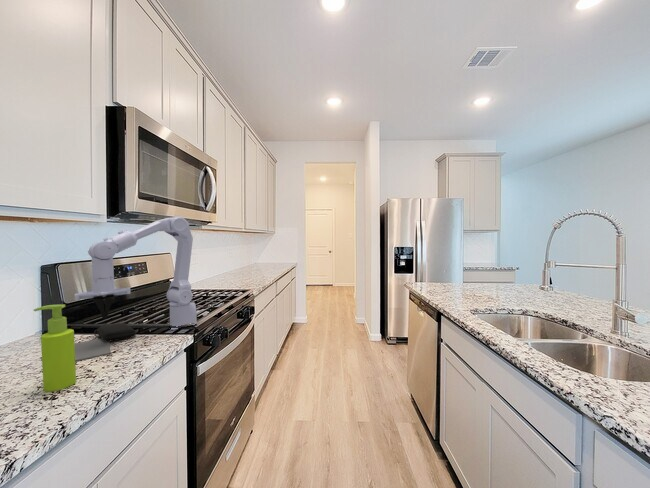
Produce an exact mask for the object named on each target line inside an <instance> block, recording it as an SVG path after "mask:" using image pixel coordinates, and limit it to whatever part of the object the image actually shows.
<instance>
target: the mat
mask: <svg viewBox="0 0 650 488" xmlns="http://www.w3.org/2000/svg"><path fill="white" fill-rule="evenodd" d="M74 345H75V363H76V362H79V361H80V362H81V361H83V360H89V359H94V358H98V357H102V356H107V355H111V354H112V350H111V341H106V340H103V339H102V338H101V337H100V338H95V339H91V340H86V341H81V342H74Z"/></svg>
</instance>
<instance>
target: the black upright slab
mask: <svg viewBox="0 0 650 488" xmlns="http://www.w3.org/2000/svg"><path fill="white" fill-rule="evenodd" d="M93 333H94V335H96V334H97V335H98V336H99V337H100V338H102V339H103V340H106V341H109V342H113V341H119V340H123V339H129V338H133V337H134V336H135V335H136V334H137V332H136V330H135V329H134V328H133V327H131V326H130V325H128V324H127V323H125V322H120V323H113V324H107V325H102V326H98V328H96V329H95V330H94V332H93Z"/></svg>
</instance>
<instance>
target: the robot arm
mask: <svg viewBox="0 0 650 488" xmlns="http://www.w3.org/2000/svg"><path fill="white" fill-rule="evenodd" d="M159 232H164V233H166V234H168V235H170V236H172V237H173V239H175V241H177V247H176V254H175V263H174V271H173V272H174V273H173V280H172V281H171V282H170V284H169V288H168V290H167V291H166V299H167V301H169V322H170V323H169V324H170V325H172V326H176V327H178V326H181V325H184V324H187V323H197V324H198V322H197V320H198V319H197V318H198V317H197V306H196V303H195V302H192V300H193V292H192V285H191V283H190V282H189V275H190V267H191V266H190V265H191V259H192V258H191V257H192V252H193V251H192V249H193V238H194V237H193V234H192V231H191V230H190V222H188V221H187V220H186V218H184V217H183V216H174V217H165V218H163V219H157V220H155V221H153V222H150V223H148V224H146V225H145V226H143V227H140V228H138V229H136V230H133V231H130V230H129V231H128V230H119V231H118V232H117V234H115V235H113V236H110V237H104V238H103V239H102V240H103V241H98V242H97V241H96V242H94V243H92V244H91V245H90V247H89V249H88V250H87V253H88V255H89V256H90V257H91V282H92V285H91V286H92V287H91V288H92V290H91V291H85V292H84V291H83V292H80V293H79V292H78V293H74V301H75V302H76V301H80V300H87V299H93V302H94V303H95V305H96V306H97V308H98V310H99V312H100V314H101V318H102V319H101V320H107V319H108V317H109V313H110V308H111V306H112V304H113V301H114V300H115V296H123V295H131V294H132V291H131V287H124V288H123V287H121V288H120V287H119V288H115V275H114V273H115V271H114V270H115V269H114V257H115V255H116V254H119V253H121V252H123V251H126V250H128V249H130V248H131V247H134V246H136V245H137V242H138V241H139V240H140V239H143V238H145V237H148V236H151V235H153V234H156V233H159ZM170 330H171V331H175V330H179V329H178V328H171V329H170Z"/></svg>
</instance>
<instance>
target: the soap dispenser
mask: <svg viewBox="0 0 650 488" xmlns="http://www.w3.org/2000/svg"><path fill="white" fill-rule="evenodd" d="M64 308H66V303H65V304H62V303H61V304H49V305H43V306H40V307H37V308H34V309H33V311H34V312H39V311H42V310H51V318H49V319H47V332H45V333H43V334H41V336H40V344H41V347H40V348H41V363H42V366H41V367H42V368H41V369H42V383H43V384H42V387H43V392H47V393H49V392H58V391H61V390H63V389H66V388H69V387H71V386H73V385H74V384H76V383H77V371H76V370H77V369H76V367H77V366H76V362H75V345H74V343H75V331H74V329H72V328H68V321H67V319H68V318H67V316H63V315H62V314H63V312H62V309H64Z"/></svg>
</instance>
